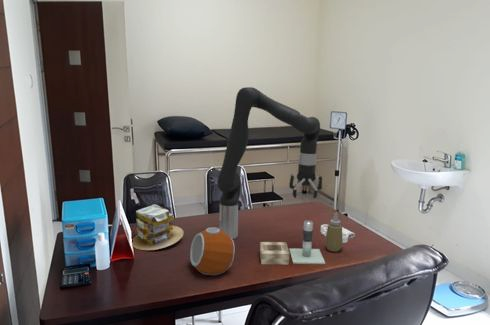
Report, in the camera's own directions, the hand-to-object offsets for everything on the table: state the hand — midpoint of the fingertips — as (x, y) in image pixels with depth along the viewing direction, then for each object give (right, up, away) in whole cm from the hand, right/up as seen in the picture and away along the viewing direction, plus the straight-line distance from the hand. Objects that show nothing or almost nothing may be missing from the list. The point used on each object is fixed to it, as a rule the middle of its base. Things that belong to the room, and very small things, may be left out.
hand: (304, 197), depth 177 cm
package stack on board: (-69, -22, +15) cm, 74 cm away
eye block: (-14, -27, -1) cm, 30 cm away
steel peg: (+1, -26, +1) cm, 26 cm away
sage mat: (+1, -27, +1) cm, 27 cm away
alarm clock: (-41, -29, -11) cm, 51 cm away
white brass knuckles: (+20, -22, +26) cm, 40 cm away
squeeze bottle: (+15, -26, +10) cm, 31 cm away
